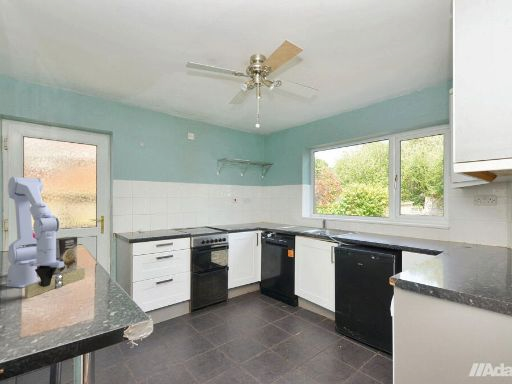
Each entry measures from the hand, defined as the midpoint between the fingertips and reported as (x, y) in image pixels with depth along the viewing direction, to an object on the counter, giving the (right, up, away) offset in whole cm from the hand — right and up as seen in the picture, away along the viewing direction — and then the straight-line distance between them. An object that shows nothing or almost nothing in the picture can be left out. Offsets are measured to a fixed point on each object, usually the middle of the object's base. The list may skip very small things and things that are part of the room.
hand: (46, 286), depth 97 cm
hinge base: (+1, -3, +11) cm, 11 cm away
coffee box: (-15, -4, +29) cm, 33 cm away
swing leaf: (-1, -2, +1) cm, 3 cm away
